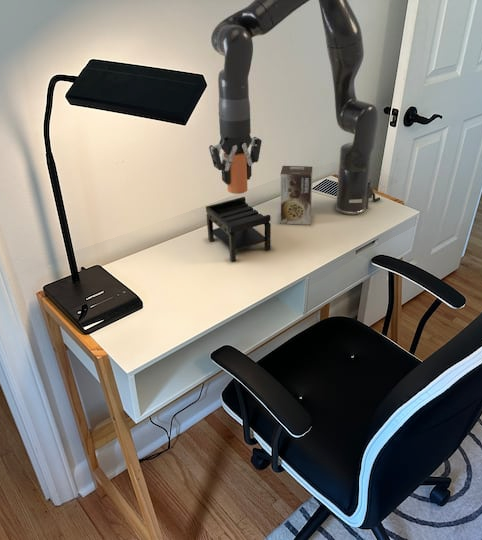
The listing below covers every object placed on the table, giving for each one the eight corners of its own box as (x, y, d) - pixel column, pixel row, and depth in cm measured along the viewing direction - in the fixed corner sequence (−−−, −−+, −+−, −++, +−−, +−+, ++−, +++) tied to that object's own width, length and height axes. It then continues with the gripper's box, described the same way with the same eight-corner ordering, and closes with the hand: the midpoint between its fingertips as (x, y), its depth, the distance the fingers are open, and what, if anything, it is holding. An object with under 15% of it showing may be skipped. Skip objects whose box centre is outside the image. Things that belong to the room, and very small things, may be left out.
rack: (245, 229, 150) (244, 196, 144) (270, 249, 140) (270, 215, 135) (207, 240, 144) (204, 206, 139) (231, 262, 135) (229, 227, 129)
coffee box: (311, 215, 158) (313, 166, 149) (310, 225, 152) (312, 174, 144) (281, 214, 159) (282, 164, 150) (279, 223, 153) (280, 173, 144)
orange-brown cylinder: (241, 184, 136) (240, 147, 131) (251, 190, 133) (250, 153, 127) (223, 188, 134) (221, 151, 129) (233, 195, 130) (231, 157, 125)
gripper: (215, 123, 117) (219, 192, 126) (268, 114, 124) (268, 180, 133) (200, 115, 122) (205, 182, 131) (252, 107, 129) (253, 170, 138)
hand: (237, 180), depth 132 cm, fingers closed on orange-brown cylinder, 5 cm apart
